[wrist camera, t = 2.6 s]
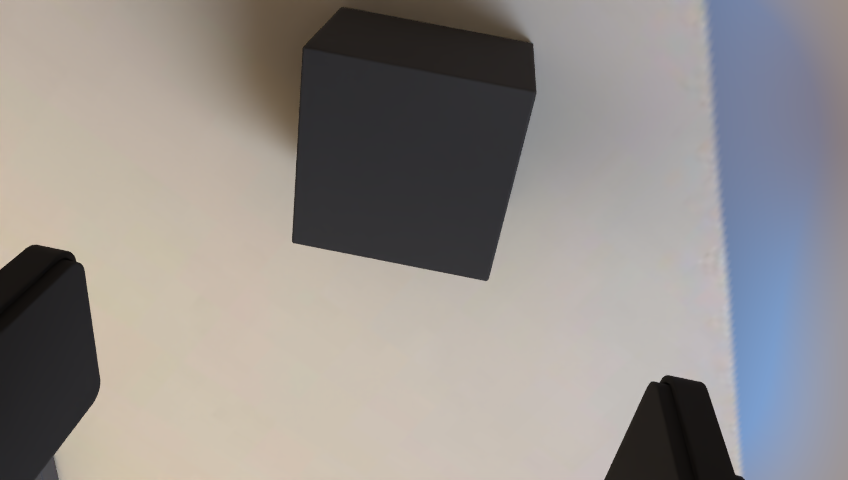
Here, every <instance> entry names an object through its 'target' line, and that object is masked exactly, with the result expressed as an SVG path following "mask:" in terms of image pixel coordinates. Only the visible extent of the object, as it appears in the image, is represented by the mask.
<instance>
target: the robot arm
mask: <svg viewBox="0 0 848 480" xmlns="http://www.w3.org/2000/svg"><path fill="white" fill-rule="evenodd" d="M99 388H100V375H99V368H98V361H97V354H96V347H95V340H94V333H93V326H92V319H91V312H90V305H89V298H88V292H87V285H86V278H85V271H84V267H83V265H82V264H81V263H78V262H76V259H75V256H74V255H73V254H72V253H71V252H69V251H64V250H60V249H55V248H50V247H45V246H40V245H31V246H29V247H28V248H26V249H25V250H24V251H22V252H21V253H20V254H19V255H18V256H16V257H15V258H14V259H13V260H12V261H10V262H9V263H8V264H7V265H6V266H4V267H3V268H2V269H1V270H0V480H35V479H36V478H37V476H38V475H39V474H40V472H41V471H42V470H43V468H44V467H45V466H46V464H47V463H48V462H49V461H50V459H51V458H52V457H53V455H54V454H55V453H56V451H57V450H58V449H59V447H60V446H61V445H62V443H63V442H64V441H65V439H66V438H67V437H68V436H69V434H70V433H71V432H72V430H73V429H74V428H75V426H76V425H77V424H78V422H79V421H80V420H81V418H82V417H83V416H84V414H85V413H86V412H87V411H88V409H89V408H90V407H91V405H92V404H93V402H94V401H95V399H96V397H97V395H98V392H99ZM604 480H745V479H744V478H743V477H741V476H737V475H735V473H734V470H733V467H732V464H731V461H730V458H729V455H728V451H727V448H726V445H725V442H724V439H723V436H722V433H721V430H720V427H719V424H718V421H717V418H716V415H715V412H714V409H713V406H712V403H711V399H710V396H709V393H708V390H707V388H706V386H705V384H703V383H702V382H698V381H693V380H688V379H684V378H679V377H674V376H669V375H667V376H664V377H663V378H662V380H661V381H660V383H658V382H651V383H650V384H649V385H648V387H647V389H646V391H645V393H644V395H643V397H642V400H641V402H640V404H639V406H638V408H637V410H636V413H635V415H634V417H633V419H632V421H631V423H630V426H629V428H628V430H627V432H626V434H625V436H624V438H623V441H622V443H621V445H620V447H619V449H618V451H617V454H616V456H615V458H614V460H613V462H612V464H611V467H610V469H609V471H608V473H607V475H606V477H605V479H604Z"/></svg>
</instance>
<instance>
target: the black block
mask: <svg viewBox="0 0 848 480" xmlns="http://www.w3.org/2000/svg"><path fill="white" fill-rule="evenodd" d="M535 97H536V80H535V65H534V50H533V44H532V43H528V42H523V41H518V40H512V39H507V38H502V37H497V36H491V35H486V34H481V33H476V32H470V31H465V30H460V29H454V28H449V27H444V26H439V25H433V24H428V23H423V22H418V21H412V20H407V19H402V18H397V17H391V16H386V15H381V14H376V13H370V12H365V11H360V10H355V9H349V8H344V7H341V8H340V9H339V10H338V11H337V12H336V13H335V14H334V16H333V17H332V18H331V19H330V20H329V21H328V22H327V23H326V24H325V25H324V26H323V27H322V28H321V29H320V30H319V31H318V32H317V33H316V34H315V35H314V36H313V37H312V38H311V40H310V41H309V42H308V43H307V44H306V45H305V46H304V47H303V54H302V72H301V90H300V107H299V125H298V143H297V161H296V179H295V197H294V215H293V233H292V242H293V243H296V244H301V245H306V246H312V247H317V248H322V249H327V250H332V251H337V252H342V253H347V254H352V255H357V256H362V257H367V258H372V259H377V260H383V261H388V262H393V263H398V264H403V265H408V266H413V267H418V268H423V269H428V270H433V271H438V272H443V273H448V274H454V275H459V276H464V277H469V278H474V279H479V280H484V281H487V280H488V279H489V275H490V272H491V268H492V264H493V260H494V256H495V252H496V248H497V244H498V240H499V237H500V233H501V229H502V225H503V221H504V217H505V213H506V209H507V205H508V202H509V198H510V194H511V190H512V186H513V182H514V178H515V174H516V171H517V167H518V163H519V159H520V155H521V151H522V147H523V143H524V139H525V136H526V132H527V128H528V124H529V120H530V116H531V112H532V108H533V104H534V101H535Z"/></svg>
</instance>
